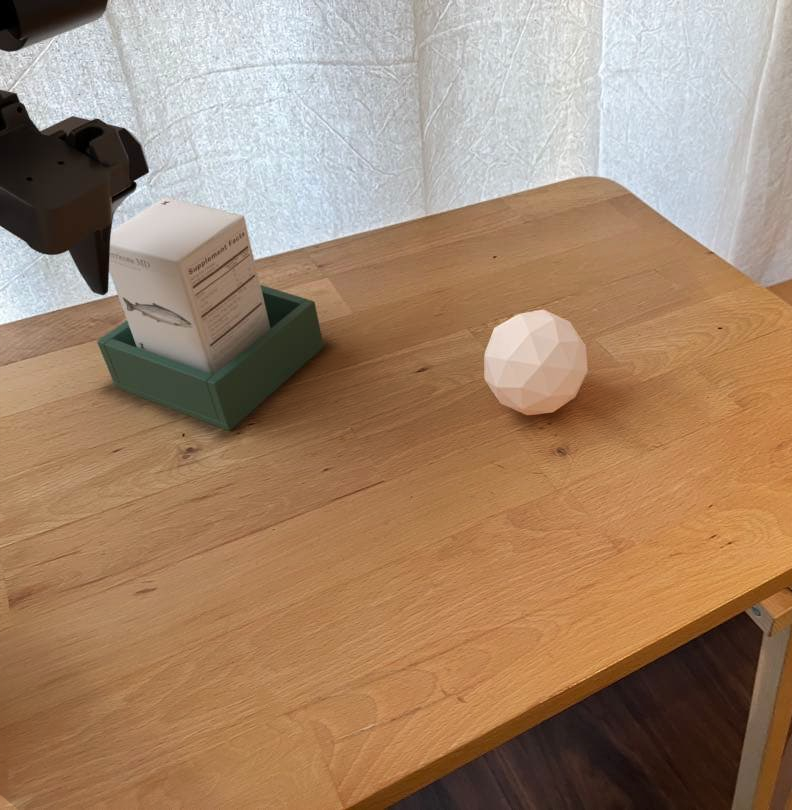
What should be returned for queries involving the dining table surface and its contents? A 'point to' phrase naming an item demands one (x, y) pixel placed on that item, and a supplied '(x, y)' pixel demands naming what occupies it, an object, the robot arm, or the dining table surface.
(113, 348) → the bin
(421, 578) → the dining table surface
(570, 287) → the dining table surface
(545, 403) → the geometric ball
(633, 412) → the dining table surface
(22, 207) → the robot arm
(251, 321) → the white packaging box
